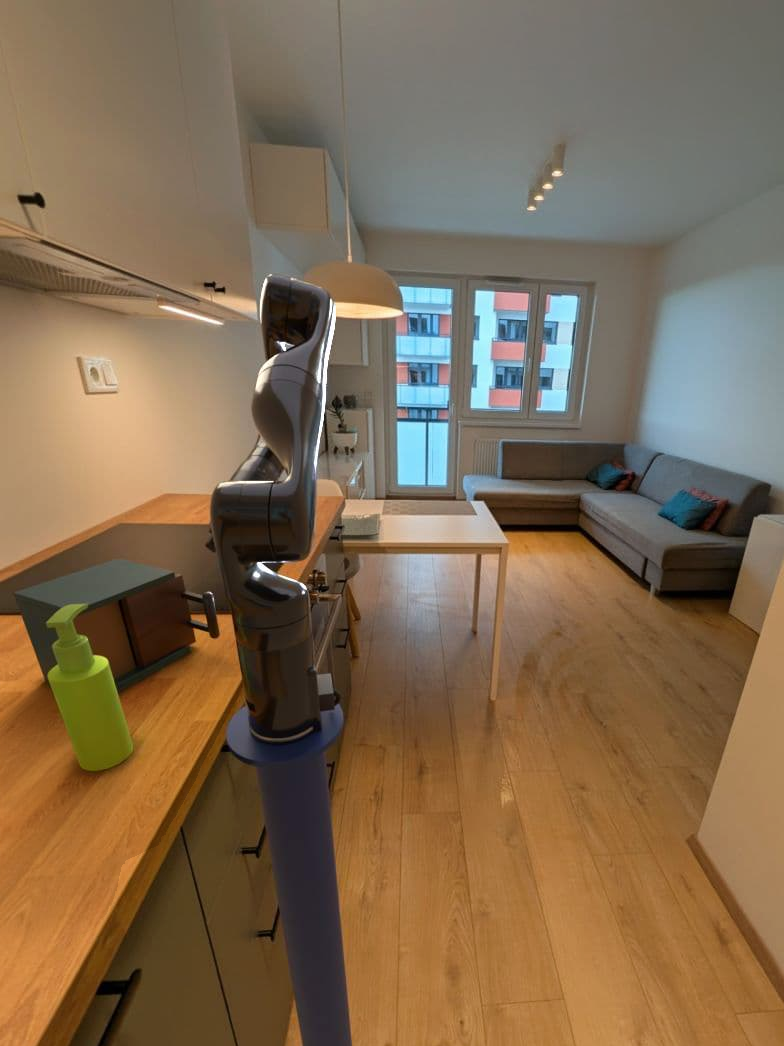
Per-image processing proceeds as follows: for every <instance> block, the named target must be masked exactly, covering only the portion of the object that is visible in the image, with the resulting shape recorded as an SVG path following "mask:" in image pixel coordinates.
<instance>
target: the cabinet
mask: <svg viewBox="0 0 784 1046" xmlns="http://www.w3.org/2000/svg"><path fill="white" fill-rule="evenodd" d="M175 573H176V572H175V571H171V570H169V569H168V570H167V569H164V568H160V567H155V566H153V565H146V564H143V563H139V562H135V561H131V560H127V559H124V558H115V559H113V560H109V561H106V562H102V563H100V564H97V565H93V566H90V567H88V568H84V569H82V570H78V571H76V572H73V573H68V574H66V575H64V576H60V577H57V578H53V579H51V580H47V581H44V582H42V583H39V584H35V585H32V586H29V587H26V588H23V589H20V590H17V591H14V592H13V597H14V599H15V602H16V605H17V607H18V610H19V613H20V616H21V618H22V621H23V624H24V627H25V629H26V632H27V634H28V638H29V640H30V643H31V646H32V648H33V649H32V650H33V652H34V654H35V657H36V659H37V662H38V664H39V667H40V671H41V673H42V676H43V678H44V681H46V682H49V680H48V673H49V671H50V670H51V669H52V668H53V667H55V666H56V665H58V663H57V660H56V658H55V655H54V652H53V649H52V645H53V643H54V642H56V641H57V640H58V639H59V637H58V634H57V631H56V629H55V627H50V628H47V626H46V622H47V621H48V620H49V619H50V618H51V617H52V616H53V615H54V614H55V613H56V612H57V611H58V610H60V609H61V608H63V607H65V606H67V605H70V604H88V608H87V609H84V610H83V611H81V612H80V613H79V614H78V615H77V616H76V617H75V618H74V619H73V623H74V627H75V630H76V633H77V635H83V636H86V637H87V638H88V641H89V644H90V647H91V651H92V654H93V655H98V656H103V657H105V658H106V659H107V660H108V662H109V666H110V669H111V672H112V676H113V679H114V683H115V686H116V689H117V693H118V694H119V693H121V692H123V691H125V690H126V689H128V688H130V687H132V686H134V685H136V684H137V683H139V682H141V681H142V680H145V679H147V678H148V677H150V676H151V675H153V674H155V673H157V672H159V671H160V670H162V669H163V668H165V667H167V666H169V665H172V664H173V663H175V662H176V661H179V660H180V659H181V658H183V657H186V656H187V655H189V654H191V653H192V649H191V645H189V646H186V647H184V648H182V649H180V650H179V651H177V652H175V653H173V654H171V655H169V656H167V657H166V658H164V659H162V660H160V661H158V662H156V663H155V664H153V665H151V666H149V667H147V668H145V669H142V668H139V667H138V664H137V660H136V657H135V653H134V649H133V646H132V642H131V638H130V634H129V631H128V627H127V623H126V619H125V616H124V612H123V608H122V605H121V601H120V599H122V598H125V597H127V596H130V595H133V594H135V593H138V592H140V591H143V590H145V589H148V588H150V587H153V586H155V585H158V584H160V583H163V582H165V581H168V580H170V579H173V578H175ZM49 683H50V682H49Z"/></svg>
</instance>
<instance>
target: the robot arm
mask: <svg viewBox="0 0 784 1046" xmlns="http://www.w3.org/2000/svg"><path fill="white" fill-rule="evenodd" d="M259 323H260V324H259V325H260V334H261V342H262V350H263V351H262V352H263V358H264V363H263V365H262V366H261V368H260V369H259V371H258V372H257V376H256V379H255V384H254V388H253V393H252V398H251V403H250V415H251V416H250V417H251V419H252V422H253V425H254V427H255V430H256V431H257V433H256V439H255V443H254V446H253V448H252V449H251V451H250V452H249V454H248V455H247V457H246V458H245V459H244V461H242V462H241V463H240V464H239V465H238V467H237V468H236V469H235V471H234V473H233V474H232V475H231V477H230V478H229V480H224V481H222V482H219V483H218V484H217V485H216V486H215V487H214V489H213V490H212V492H211V497H210V500H209V524H208V533H210V536H209V537H208V539H207V540H206V542H205V544H204V546H205V548H207V549H208V550H209V551H211V552H212V553H216V556H217V560H218V564H219V568H220V574H221V578H222V583H223V588H224V594H225V598H226V600H227V603H228V606H229V610H230V614H231V620H232V626H233V632H234V638H235V644H236V645H235V646H236V650H237V657H238V661H239V662H238V663H239V668H240V674H241V681H242V686H243V692H244V693H243V694H242V697H243V702H244V706H245V705H246V708H247V710H248V719H249V727H250V732H251V734H252V736H253V737H254V738H255V739H256V740H258V741H259V742H262V743H265V744H269V745H285V744H291V743H294V742H297V741H300V740H302V739H304V738H306V737H308V736H309V735H311V734H312V733H314V732H319V731H321V730H322V726H321V712H322V711H329V710H335V706H336V705H337V704H340V702H341V699H342V695H341V693H340V692H339V691H338V690H336V689H335V688H334V687H333V681H332V674H331V673H330V672H328V673H322V674H317V665H316V664H317V663H316V653H315V645H314V644H315V643H314V636H313V634H314V633H313V625H312V614H311V613H312V612H311V600H310V599H311V598H310V593H309V590H308V588H307V586H305V584H303V583H302V582H301V581H299V580H297V579H295V578H292V577H289V576H287V575H285V574H284V575H283V574H281V573H279V572H276V571H274V570H272V569H271V568H269V567H267V566H266V565H265V564H264V563H269V564H270V563H271V564H272V563H296V562H302V561H304V560H307V558H309V556H310V555H311V552H312V550H313V548H314V543H315V538H316V531H317V528H316V527H317V496H318V495H317V492H318V491H317V490H318V489H317V488H318V460H319V459H318V458H319V453H320V452H319V451H320V444H321V443H320V442H321V434H322V429H323V422H324V414H325V405H326V386H327V385H326V384H327V369H328V361H329V355H330V350H331V345H332V341H333V336H334V331H335V323H336V306H335V299H334V298H333V296H332V294H331V293H330V292H329V291H328V290H326V289H325V288H322V287H320V286H318V285H315V284H312V283H308V282H306V281H302V280H299V279H296V278H293V277H289V276H286V275H282V274H278V273H271V274H269V275H267V277H266V278H265V280H264V283H263V287H262V290H261V296H260V304H259ZM285 344H286V345H288V346H291V347H288V348H286V347H285ZM284 473H285V474H286V477H285V479H284V480H280V479H281V477H282V476H283V474H284Z"/></svg>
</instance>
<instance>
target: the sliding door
mask: <svg viewBox="0 0 784 1046" xmlns="http://www.w3.org/2000/svg"><path fill="white" fill-rule="evenodd" d="M174 573H175V578H173V579H170V580H168V581H165V582H163V583H160V584H158V585H155V586H153V587H150V588H148V589H145V590H143V591H140V592H138V593H135V594H133V595H130V596H127V597H125V598H122V599H120V601H121V605H122V608H123V612H124V616H125V619H126V623H127V627H128V631H129V634H130V638H131V642H132V646H133V649H134V653H135V657H136V660H137V664H138V667H139V668H142V669H145V668H147V667H149V666H151V665H153V664H155V663H156V662H158V661H160V660H162V659H164V658H166V657H167V656H169V655H171V654H173V653H175V652H177V651H179V650H180V649H182V648H184V647H186V646H191V645H193V644H195V643H196V642H197V639H196V635H195V630H198V631H202V632H204V633H205V632H206V633H208V635H209V637H210V638H211V639H213V640H216V639H218V638H219V637H220V636H221V635H220V634H221V633H220V627H219V626H220V625H219V621H218V616H217V610H216V606H215V599H214V595H213V593H212V592H211V591H205V592H203V593H202V594H199V593H196V592H192V591H188V590H186V586H185V581H184V576H183V574H180V573H176V572H174ZM189 601H191V602H195V603H198V604H202V605H203V609H204V614H205V619H206V622H203V621H199V620H195V619H192V615H191V611H190V605H189Z"/></svg>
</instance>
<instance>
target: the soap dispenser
mask: <svg viewBox="0 0 784 1046" xmlns="http://www.w3.org/2000/svg"><path fill="white" fill-rule="evenodd" d="M87 608H88V604H70V605H67V606H65V607H63V608H61V609H60V610H58V611H57V612H56V613H55V614H54V615H53V616H52V617H51V618H50V619H49V620H48V621H47V622H46V626H47V628H50V627H55V629H56V631H57V634H58V637H59V639H58V640H57V641H56V642H54V643H53V645H52V649H53V652H54V655H55V658H56V660H57V663H58V665H56V666H55V667H53V668H52V669H51V670H50V671H49V673H48V680H49V686H50V688H51V691H52V693H53V696H54V699H55V702H56V704H57V707H58V710H59V712H60V716H61V718H62V721H63V724H64V726H65V729H66V732H67V734H68V737H69V741H70V743H71V746H72V748H73V752H74V754H75V756H76V760H77V762H78V765H79V767H80V768H81V769H82V770H84V771H89V772H99V771H104V770H108V769H111V768H113V767H115V766H117V765H120V764H121V763H123V762H124V761H125V760H127V758H129V757H130V755H131V754H132V753H133V752H134V751H133V750H134V744H133V740H132V736H131V733H130V729H129V726H128V723H127V720H126V716H125V713H124V709H123V706H122V703H121V700H120V696H119V693H117V689H116V686H115V683H114V679H113V676H112V672H111V669H110V666H109V662H108V660H107V659H106V658H105V657H103V656H98V655H93V654H92V651H91V647H90V644H89V641H88V638H87V637H86V636H83V635H77V633H76V630H75V627H74V623H73V619H74V618H75V617H76V616H77V615H78V614H79V613H80V612H81V611H83V610H84V609H87Z"/></svg>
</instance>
